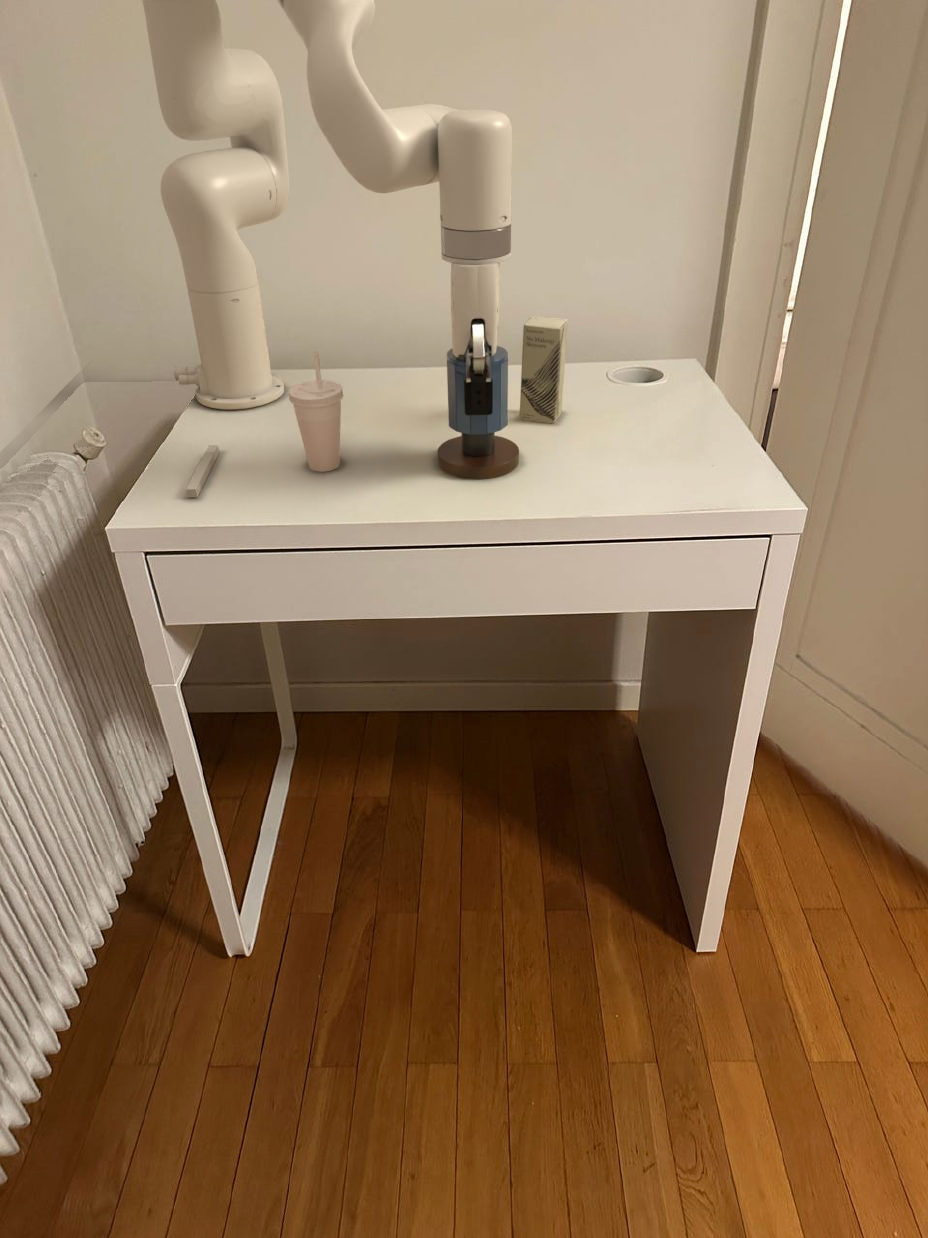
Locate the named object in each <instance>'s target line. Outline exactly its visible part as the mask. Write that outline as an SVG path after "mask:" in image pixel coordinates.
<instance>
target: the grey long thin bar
mask: <svg viewBox="0 0 928 1238" xmlns="http://www.w3.org/2000/svg"><path fill="white" fill-rule="evenodd" d="M219 454H220V449H219V445H218V444H211V445H208V446H207V448H206V450H205V452H204V454H203V456H202V458H201V460H200V462H199V463H198V466H196V469H195V471H194V473H193V475H192V477H191V479H190V481H189V483H188V484H187V486H186V489H185V492H186V497H187V498H198V497H199V495H200V493H201V491H202V489H203V487H204V484H205V482H206V481H207V478H208V477H209V474H210V472H211V471H212V468H213V466H214V464H215V462H216V461H217V458H218V456H219Z"/></svg>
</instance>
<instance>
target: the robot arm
mask: <svg viewBox="0 0 928 1238" xmlns="http://www.w3.org/2000/svg"><path fill="white" fill-rule="evenodd" d="M141 1H142V5H143V10H144V15H145V23H146V29H147V35H148V37H147V38H148V43H149V49H150V55H151V61H152V67H153V72H154V74H153V75H154V79H155V86H156V92H157V97H158V103H159V107H160V113H161V115H162V118H163V121H164V123H165V125H166V127H167V128H168V130H169V131H170V132H171V133H172V135H174V136H176V137H177V138H180V139H181V140H185V141H189V142H190V141H191V142H193V141H195V142H197V141H198V142H199V141H211V140H218V139H225V138H229V141H230V147H227V148H218V149H211V150H205V151H200V152H199V151H198V152H193V153H189V154H186V155H183V156H181V157H179V158H176V159H175V160H173V161H172V162H171V163H170V164H168V166H166V169H165V170H164V172H163V174H162V177H161V180H160V196H161V200H162V204H163V207H164V211H165V213H166V216H167V218H168V221H169V224H170V226H171V229H172V232H173V235H174V237H175V242H176V244H177V248H178V252H179V256H180V260H181V265H182V269H183V274H184V279H185V284H186V288H187V294H188V299H189V305H190V308H191V316H192V321H193V326H194V332H195V337H196V341H197V342H196V343H197V347H198V354H199V358H200V364H196V365H195V367H189V366H175V367H174V369H173V376H174V379H175V381H178V383H179V385H181V386H185V385H186V386H187V385H195V386H197V387H196V389H195V397H196V400H197V402H198V403H199V404H201V405H202V406H205V407H207V408H212V409H217V410H244V409H250V408H251V409H252V408H256V407H260V406H264V405H267V404H270V403H272V402H274V401H276V400H277V399H280V397H281V396H283V394H284V393H285V384H284V381H283V380H282V378H280V377H278V376H276V375H273V374H272V369H271V362H270V361H271V360H270V353H269V346H268V339H267V333H266V332H267V331H266V327H265V325H266V324H265V319H264V312H263V306H262V305H263V304H262V298H261V291H260V290H261V289H260V285H259V279H258V271H257V267H256V264H255V261H254V258H253V255H252V254H251V252H250V250H249V249H248V248H247V246H246V244H245V243H244V242H243V241H242V239H241V237H240V235H239V233H238V231H237V230H240V229H243V228H247V227H252V226H255V225H259V224H263V223H267V222H270V221H272V220H275V219H276V218H278V217H280V216H281V215H282V214H283V212H284V211H285V209H286V208H287V205H288V202H289V198H290V171H289V159H288V148H287V137H286V135H287V134H286V125H285V124H286V123H285V113H284V107H283V105H284V104H283V98H282V97H283V96H282V93H281V89H280V85H279V82H278V79H277V78H276V75H275V73H274V71H273V69H272V68H271V66H270V65H269V63H268V62H267V60H265V59H264V58H263V57H262V56H261V55H260V54H258V53H257V52H256V51H254V50H251V49H247V48H242V47H233V48H232V47H231V48H226V47H225V43H224V37H223V31H222V19H221V13H220V10H219V6H218V3H217V0H141ZM276 1H277V2H278V5H279V6H280V7H281V9H282V10H283V12H284V13H285V16H286V17H287V18H288V20H289V21H290V24H291V25H292V26H293V28H294V30H295V31H296V33H297V34H298V36H299V37H300V39H301V41H302V42H303V44H304V46H305V48H306V50H307V56H306V57H307V59H306V81H307V88H308V95H309V99H310V105H311V109H312V112H313V116H314V118H315V120H316V123H317V125H318V127H319V130H320V131H321V133H322V134H323V136H324V137H325V139H326V141H327V143H328V144H329V145H330V147H331V148H332V151H333V152H334V153H335V155H336V157H337V158H338V159H339V161H340V163H341V164H342V165H343V167H344V168H345V171H347V172H348V174H350V175H351V177H352V178H353V179H354V181H356V182H357V183H358V184H359V185H360V186H362V187H363V188H364V189H366V190H368V191H371V192H373V193H377V194H389V193H395V192H399V191H403V190H407V189H411V188H416V187H421V186H426V185H430V184H434V183H438V185H439V186H438V187H439V217H440V247H441V248H440V249H441V259H442V260H443V261H445V262H447V263H450V312H451V313H450V314H451V315H450V316H451V341H452V348H453V354H454V355H455V356H456V357H459V355H464V353H465V351H466V355H465V358H466V380H464V402H465V414H466V415H491V414H492V413H493V380H492V379H491V364H490V357H491V356H493V355H494V354H495V353H496V348H497V346H498V335H499V321H500V320H499V318H500V292H501V291H500V285H501V284H500V283H501V282H500V281H501V270H500V269H501V263H503V262H505V261H508V260H509V259H511V257H512V185H513V183H512V182H513V181H512V180H513V179H512V178H513V177H512V174H513V173H512V172H513V171H512V170H513V169H512V168H513V129H512V123H511V120H510V118H509V116H508V115H507V114H506V113H504V112H502V111H499V110H493V109H464V110H461V109H457V108H453V107H450V106H446V105H443V104H438V103H423V104H415V105H406V106H398V107H392V108H384V109H382V108H381V107H380V105H379V104H378V102H377V100H376V99H375V97H374V95H373V94H372V93H371V91H370V90H369V88H368V86H367V85H366V82H365V81H364V80H363V78H362V76H361V74H360V72H359V70H358V67H357V65H356V62H355V58H354V55H353V49H355V47H356V46H358V44H359V43H360V42H361V41H362V39H364V37H365V36H366V34H367V33H368V31H369V30H370V28H371V26H372V23H373V21H374V19H375V15H376V3H375V0H276ZM486 344H487V352H484V348H486ZM470 348H473V353H469V349H470ZM490 353H491V354H490ZM485 359H486V363H485ZM471 360H473V363H471Z"/></svg>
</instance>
